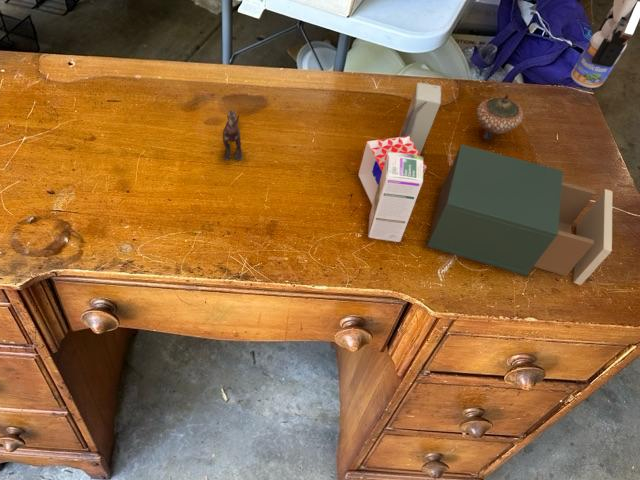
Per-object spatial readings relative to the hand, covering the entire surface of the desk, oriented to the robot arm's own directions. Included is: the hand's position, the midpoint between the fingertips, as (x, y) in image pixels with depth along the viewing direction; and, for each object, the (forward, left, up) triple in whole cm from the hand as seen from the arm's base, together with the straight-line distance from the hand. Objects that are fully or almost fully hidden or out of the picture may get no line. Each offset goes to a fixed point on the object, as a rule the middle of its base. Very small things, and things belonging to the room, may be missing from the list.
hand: (602, 53), depth 94 cm
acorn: (+11, 0, -21) cm, 24 cm away
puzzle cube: (+27, +21, -21) cm, 40 cm away
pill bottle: (0, 0, -5) cm, 5 cm away
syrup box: (+25, +31, -21) cm, 45 cm away
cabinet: (+9, +25, -21) cm, 34 cm away
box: (+25, +9, -21) cm, 34 cm away
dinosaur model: (+57, +21, -21) cm, 64 cm away
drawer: (-1, +25, -20) cm, 32 cm away
